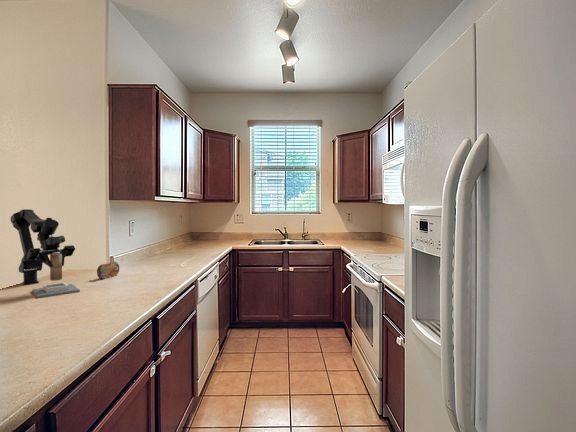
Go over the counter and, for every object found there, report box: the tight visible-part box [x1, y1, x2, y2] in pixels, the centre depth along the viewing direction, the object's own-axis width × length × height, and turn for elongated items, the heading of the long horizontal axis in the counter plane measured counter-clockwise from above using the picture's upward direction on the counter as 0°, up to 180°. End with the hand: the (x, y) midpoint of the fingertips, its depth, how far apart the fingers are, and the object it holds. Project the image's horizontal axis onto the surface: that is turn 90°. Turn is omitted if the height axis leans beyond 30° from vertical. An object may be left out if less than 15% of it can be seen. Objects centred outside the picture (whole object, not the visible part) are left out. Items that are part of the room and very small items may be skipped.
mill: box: [49, 252, 63, 282], centre depth 155 cm, size 5×5×13 cm
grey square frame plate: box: [31, 281, 81, 299], centre depth 155 cm, size 16×16×3 cm
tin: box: [96, 261, 120, 280], centre depth 188 cm, size 15×3×8 cm, turn 168°
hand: (57, 266), depth 155 cm, fingers closed on mill, 5 cm apart
